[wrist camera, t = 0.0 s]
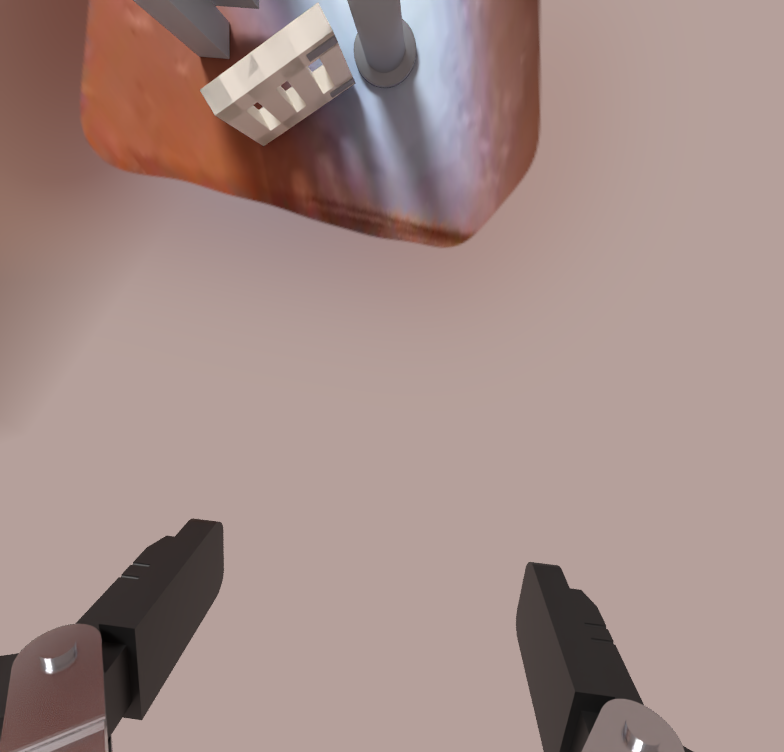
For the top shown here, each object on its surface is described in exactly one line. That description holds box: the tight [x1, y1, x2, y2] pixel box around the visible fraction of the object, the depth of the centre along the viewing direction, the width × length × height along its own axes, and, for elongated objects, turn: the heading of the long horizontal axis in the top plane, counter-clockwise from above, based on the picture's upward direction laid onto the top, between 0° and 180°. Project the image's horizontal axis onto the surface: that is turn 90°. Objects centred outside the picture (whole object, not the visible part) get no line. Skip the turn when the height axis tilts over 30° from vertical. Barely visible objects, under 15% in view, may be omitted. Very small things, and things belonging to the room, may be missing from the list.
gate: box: [200, 3, 355, 146], centre depth 31 cm, size 8×2×9 cm, turn 120°
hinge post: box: [347, 0, 416, 88], centre depth 27 cm, size 5×5×14 cm
